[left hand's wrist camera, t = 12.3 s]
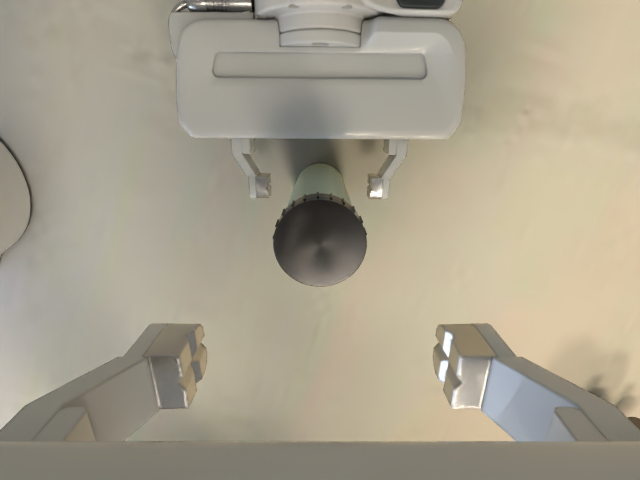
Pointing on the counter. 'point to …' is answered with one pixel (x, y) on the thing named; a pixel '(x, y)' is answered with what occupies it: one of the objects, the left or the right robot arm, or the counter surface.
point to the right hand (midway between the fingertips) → (319, 197)
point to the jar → (319, 182)
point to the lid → (319, 240)
